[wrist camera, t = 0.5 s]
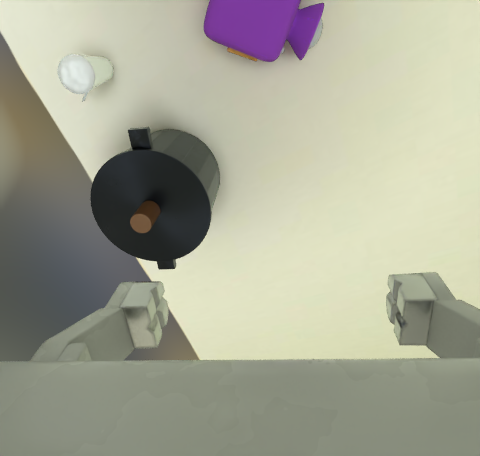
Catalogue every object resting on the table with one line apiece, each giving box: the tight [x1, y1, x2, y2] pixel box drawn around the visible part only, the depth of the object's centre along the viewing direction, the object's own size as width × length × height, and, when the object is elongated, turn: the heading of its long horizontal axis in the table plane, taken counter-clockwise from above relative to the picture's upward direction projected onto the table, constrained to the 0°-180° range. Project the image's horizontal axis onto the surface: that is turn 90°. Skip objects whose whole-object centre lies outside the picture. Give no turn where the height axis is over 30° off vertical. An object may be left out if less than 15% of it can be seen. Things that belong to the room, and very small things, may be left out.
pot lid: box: [91, 149, 212, 261], centre depth 47 cm, size 16×16×5 cm
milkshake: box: [58, 54, 114, 102], centre depth 49 cm, size 4×5×10 cm
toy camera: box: [204, 0, 324, 62], centre depth 45 cm, size 11×14×10 cm
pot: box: [128, 127, 220, 269], centre depth 55 cm, size 15×20×12 cm
